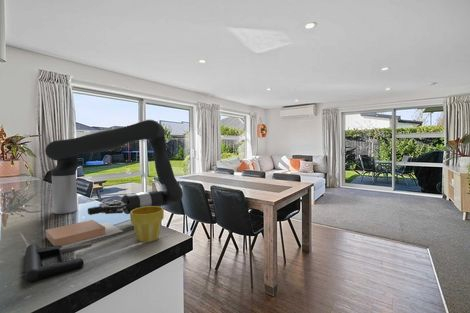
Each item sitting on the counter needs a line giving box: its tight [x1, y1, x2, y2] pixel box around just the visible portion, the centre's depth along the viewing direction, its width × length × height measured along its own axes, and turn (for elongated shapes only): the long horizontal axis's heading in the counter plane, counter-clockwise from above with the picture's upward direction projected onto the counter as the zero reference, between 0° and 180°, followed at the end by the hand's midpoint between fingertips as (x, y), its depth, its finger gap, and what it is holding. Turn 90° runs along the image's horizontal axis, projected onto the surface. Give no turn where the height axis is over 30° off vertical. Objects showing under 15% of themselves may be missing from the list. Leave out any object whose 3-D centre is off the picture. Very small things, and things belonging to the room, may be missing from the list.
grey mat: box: [60, 221, 123, 248], centre depth 82 cm, size 15×18×1 cm
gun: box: [18, 241, 92, 283], centre depth 65 cm, size 3×20×16 cm
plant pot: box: [129, 206, 165, 243], centre depth 79 cm, size 10×10×10 cm
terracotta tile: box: [45, 219, 105, 247], centre depth 80 cm, size 12×2×14 cm
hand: (88, 211), depth 82 cm, fingers closed
